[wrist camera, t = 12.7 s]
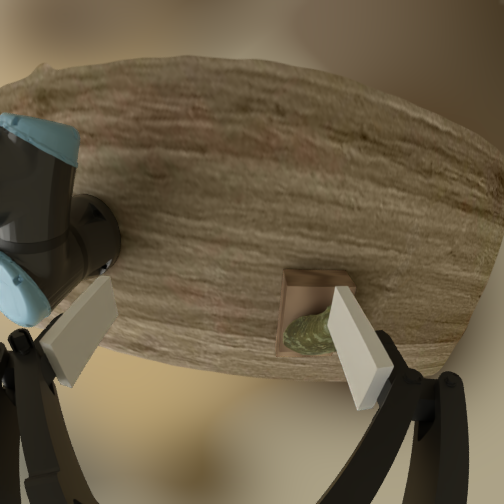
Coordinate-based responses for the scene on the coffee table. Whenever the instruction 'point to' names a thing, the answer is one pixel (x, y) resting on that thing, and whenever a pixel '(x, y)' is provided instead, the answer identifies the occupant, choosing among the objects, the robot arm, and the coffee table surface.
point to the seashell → (310, 335)
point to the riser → (306, 299)
